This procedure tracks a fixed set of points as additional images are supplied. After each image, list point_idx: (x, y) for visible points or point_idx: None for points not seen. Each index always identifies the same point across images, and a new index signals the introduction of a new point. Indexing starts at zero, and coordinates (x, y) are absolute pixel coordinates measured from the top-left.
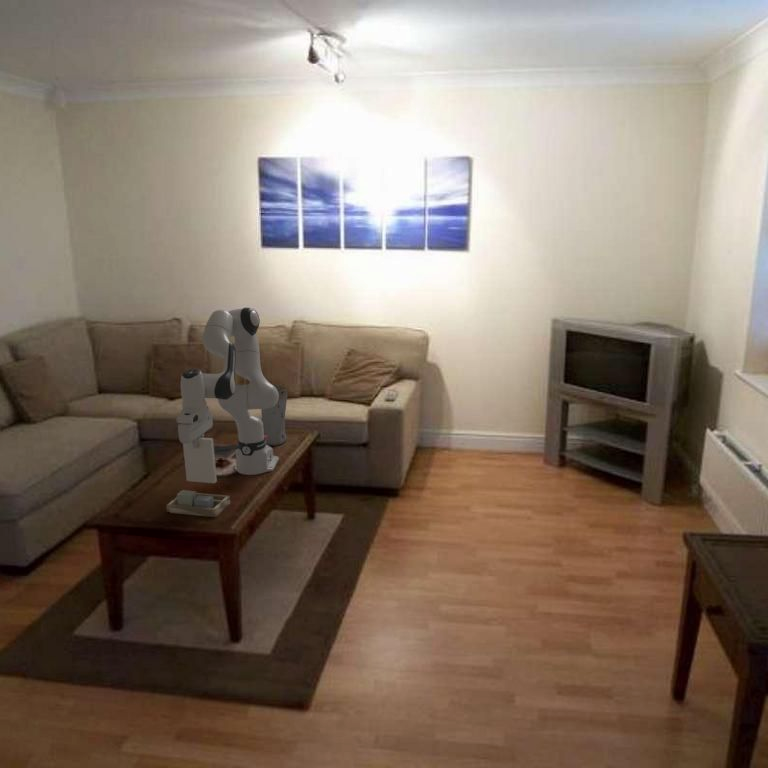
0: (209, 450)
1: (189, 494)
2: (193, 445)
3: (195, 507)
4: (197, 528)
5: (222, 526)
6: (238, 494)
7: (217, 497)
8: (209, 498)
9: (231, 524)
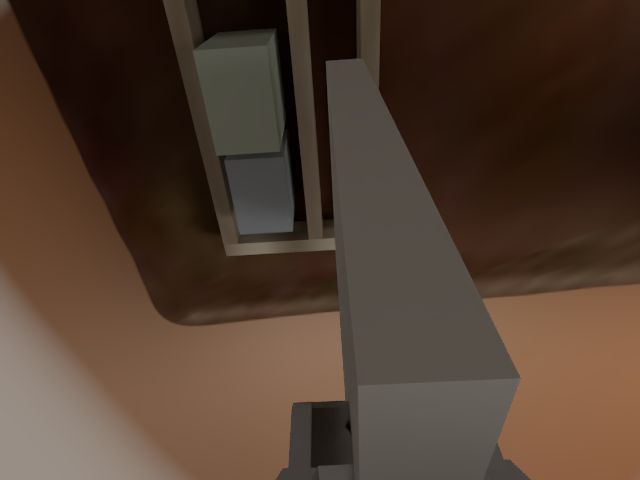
0: None
1: (226, 136)
2: (291, 442)
3: (210, 166)
4: (120, 220)
5: (181, 288)
6: (458, 219)
7: None
8: (265, 227)
9: (207, 305)
